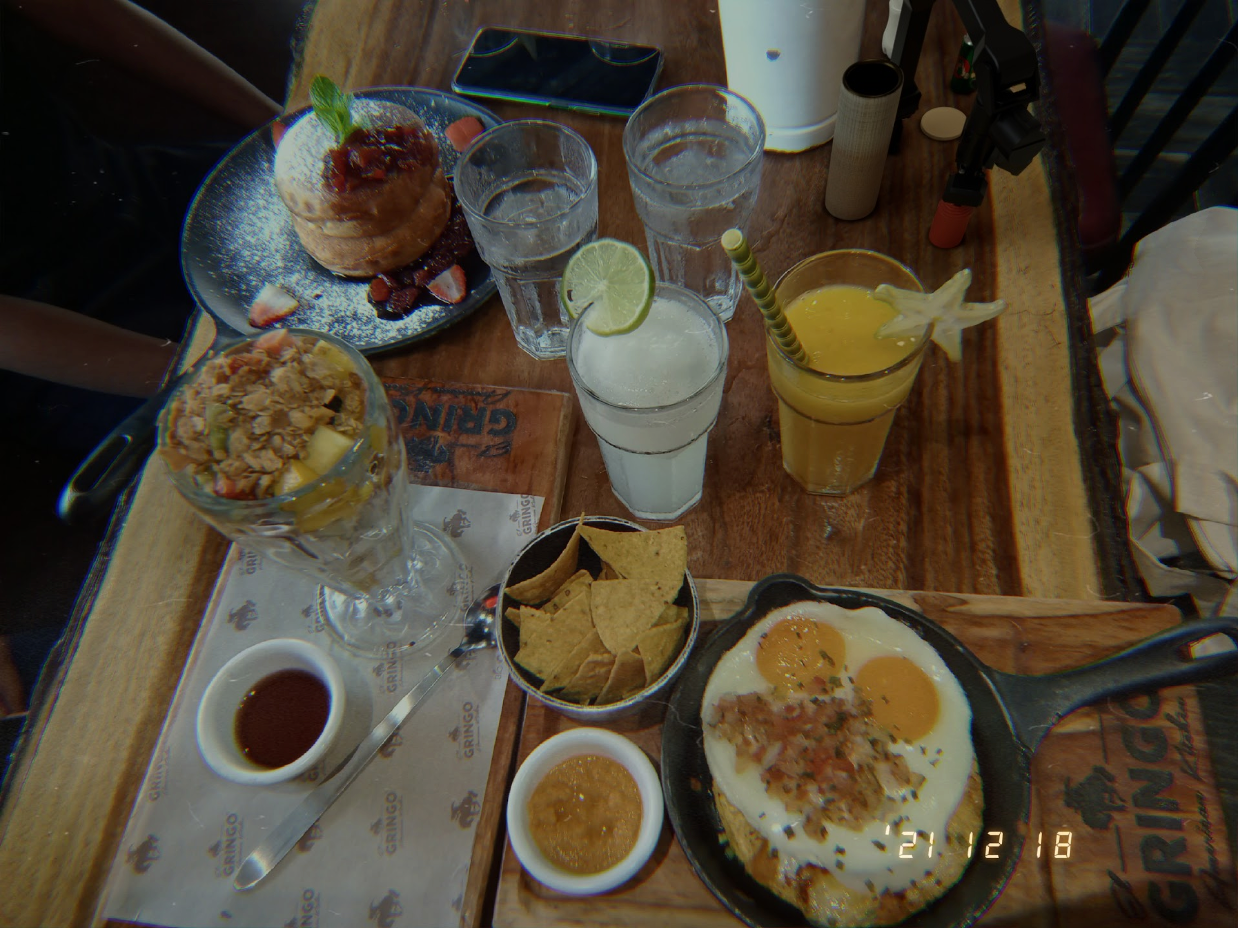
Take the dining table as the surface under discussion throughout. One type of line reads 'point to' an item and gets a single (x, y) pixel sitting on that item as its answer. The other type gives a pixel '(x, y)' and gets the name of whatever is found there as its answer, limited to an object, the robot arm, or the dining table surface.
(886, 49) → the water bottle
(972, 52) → the soda can
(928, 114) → the coaster
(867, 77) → the vase
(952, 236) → the sauce bottle
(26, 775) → the dining table surface
